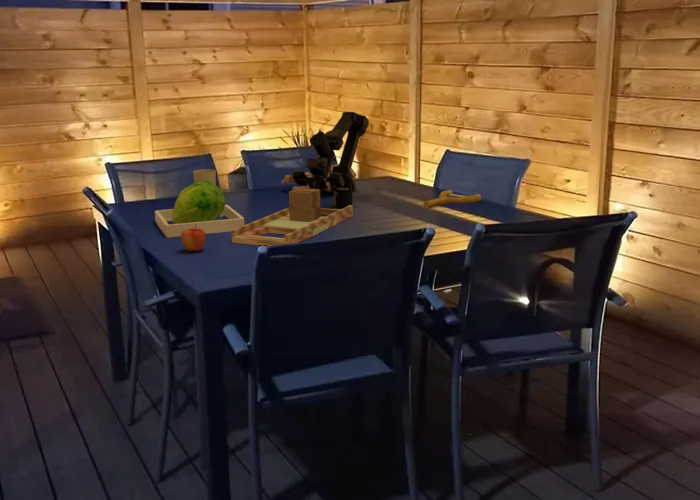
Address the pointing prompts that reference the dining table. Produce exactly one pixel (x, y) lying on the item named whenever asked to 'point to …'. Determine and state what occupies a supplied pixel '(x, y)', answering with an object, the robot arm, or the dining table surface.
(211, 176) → the mug
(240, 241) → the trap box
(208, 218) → the lettuce
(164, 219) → the lettuce crate rim
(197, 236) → the apple
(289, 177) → the sculpture
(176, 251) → the dining table surface
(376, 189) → the dining table surface
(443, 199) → the slingshot
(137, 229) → the dining table surface
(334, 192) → the robot arm
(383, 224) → the dining table surface
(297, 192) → the walnut block
